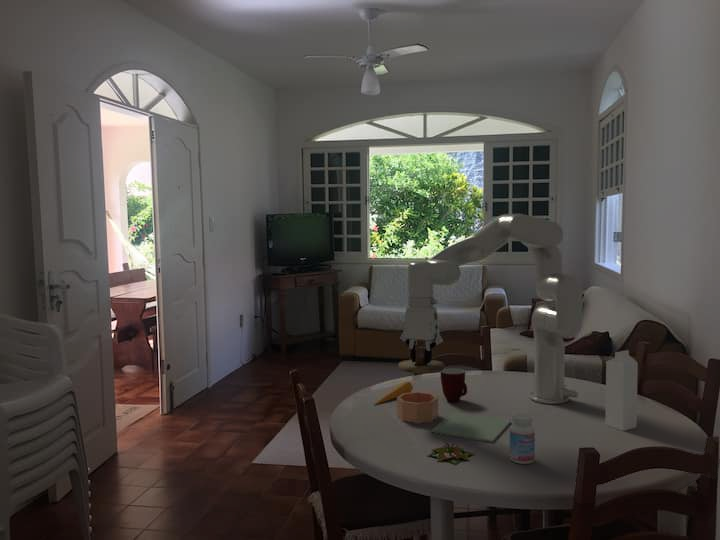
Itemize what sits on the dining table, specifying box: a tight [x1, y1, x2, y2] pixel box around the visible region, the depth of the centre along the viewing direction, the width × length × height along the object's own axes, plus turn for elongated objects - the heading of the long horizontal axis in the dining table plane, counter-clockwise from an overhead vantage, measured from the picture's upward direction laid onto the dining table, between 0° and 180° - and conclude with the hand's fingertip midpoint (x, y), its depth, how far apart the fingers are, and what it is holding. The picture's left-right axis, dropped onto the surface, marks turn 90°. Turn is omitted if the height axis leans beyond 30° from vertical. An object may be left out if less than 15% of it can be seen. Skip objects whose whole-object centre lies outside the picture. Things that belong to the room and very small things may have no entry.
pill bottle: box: [509, 413, 536, 465], centre depth 149 cm, size 6×6×11 cm
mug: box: [440, 367, 468, 403], centre depth 199 cm, size 10×8×10 cm
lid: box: [397, 346, 445, 374], centre depth 182 cm, size 14×14×6 cm
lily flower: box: [426, 438, 475, 465], centre depth 153 cm, size 12×12×5 cm
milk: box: [604, 349, 639, 432], centre depth 172 cm, size 6×6×22 cm
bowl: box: [396, 391, 439, 424], centre depth 184 cm, size 12×12×6 cm
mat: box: [430, 411, 512, 443], centre depth 174 cm, size 18×18×1 cm
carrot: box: [373, 381, 414, 406], centre depth 204 cm, size 20×4×4 cm, turn 138°
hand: (421, 361), depth 182 cm, fingers closed on lid, 3 cm apart
